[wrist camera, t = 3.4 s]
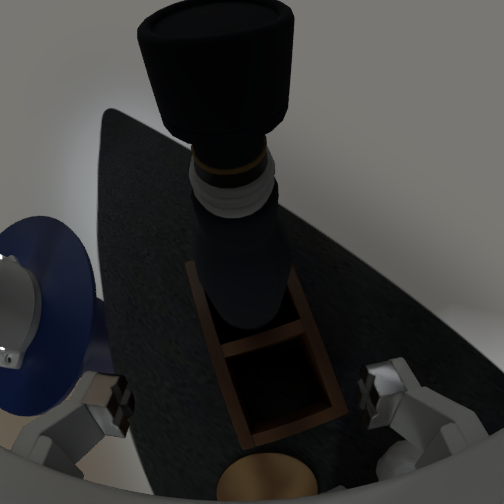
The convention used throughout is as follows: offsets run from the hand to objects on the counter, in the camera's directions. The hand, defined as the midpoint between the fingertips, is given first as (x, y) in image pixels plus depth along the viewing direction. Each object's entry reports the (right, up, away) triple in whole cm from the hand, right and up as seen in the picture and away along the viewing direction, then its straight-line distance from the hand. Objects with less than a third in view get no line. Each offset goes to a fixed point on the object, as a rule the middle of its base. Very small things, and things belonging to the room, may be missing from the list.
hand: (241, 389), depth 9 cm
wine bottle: (0, -2, +24) cm, 24 cm away
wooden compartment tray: (+1, -6, +22) cm, 23 cm away
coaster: (+2, -22, +15) cm, 26 cm away
